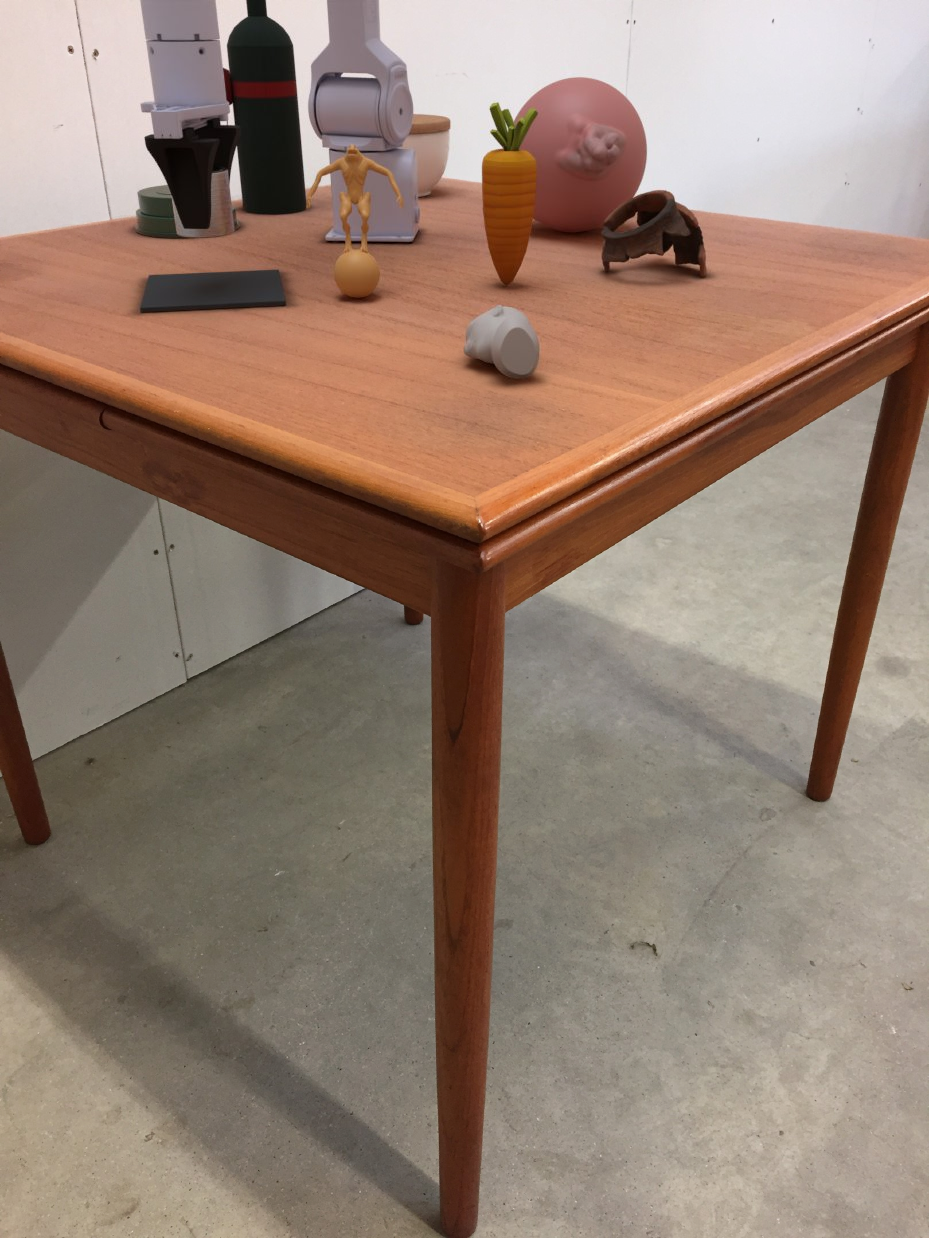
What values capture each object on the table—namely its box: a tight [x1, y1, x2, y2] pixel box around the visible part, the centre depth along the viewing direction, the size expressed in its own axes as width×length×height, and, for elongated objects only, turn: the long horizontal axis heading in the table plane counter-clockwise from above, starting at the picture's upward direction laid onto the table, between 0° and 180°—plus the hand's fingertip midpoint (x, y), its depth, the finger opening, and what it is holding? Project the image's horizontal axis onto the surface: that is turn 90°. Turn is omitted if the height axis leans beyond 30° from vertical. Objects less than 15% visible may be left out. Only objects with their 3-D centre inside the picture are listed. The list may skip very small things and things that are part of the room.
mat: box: [139, 269, 287, 313], centre depth 90 cm, size 12×12×1 cm
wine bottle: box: [223, 0, 307, 215], centre depth 118 cm, size 8×10×30 cm
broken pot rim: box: [600, 189, 707, 278], centre depth 96 cm, size 12×9×8 cm
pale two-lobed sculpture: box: [463, 304, 540, 380], centre depth 71 cm, size 4×8×5 cm
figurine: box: [306, 145, 404, 299], centre depth 86 cm, size 8×6×12 cm
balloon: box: [513, 76, 648, 233], centre depth 108 cm, size 15×20×15 cm
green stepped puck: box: [134, 184, 241, 239], centre depth 114 cm, size 12×12×4 cm
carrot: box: [481, 101, 538, 287], centre depth 88 cm, size 5×5×15 cm
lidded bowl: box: [398, 113, 451, 198], centre depth 133 cm, size 13×13×11 cm
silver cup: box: [171, 166, 235, 239], centre depth 86 cm, size 5×5×5 cm
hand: (205, 222), depth 87 cm, fingers closed on silver cup, 5 cm apart
